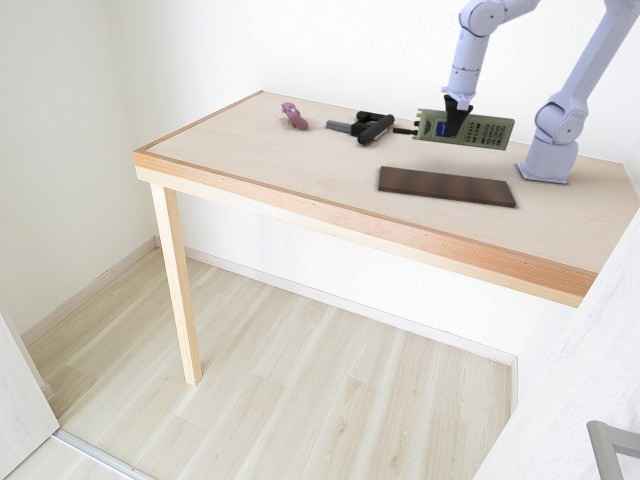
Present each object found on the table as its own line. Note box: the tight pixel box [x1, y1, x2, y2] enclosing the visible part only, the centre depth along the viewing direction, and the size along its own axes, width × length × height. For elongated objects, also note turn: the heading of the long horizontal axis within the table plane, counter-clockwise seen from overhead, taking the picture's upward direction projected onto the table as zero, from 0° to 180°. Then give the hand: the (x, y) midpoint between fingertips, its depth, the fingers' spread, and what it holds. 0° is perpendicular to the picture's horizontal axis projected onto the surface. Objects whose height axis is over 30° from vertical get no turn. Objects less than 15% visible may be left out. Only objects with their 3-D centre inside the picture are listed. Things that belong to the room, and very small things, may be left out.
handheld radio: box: [391, 107, 516, 152], centre depth 92 cm, size 7×3×25 cm
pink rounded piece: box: [280, 100, 309, 130], centre depth 115 cm, size 10×5×7 cm, turn 17°
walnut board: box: [377, 165, 517, 209], centre depth 90 cm, size 28×10×1 cm, turn 81°
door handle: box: [325, 110, 396, 146], centre depth 114 cm, size 3×20×16 cm
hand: (450, 132), depth 92 cm, fingers closed on handheld radio, 3 cm apart
